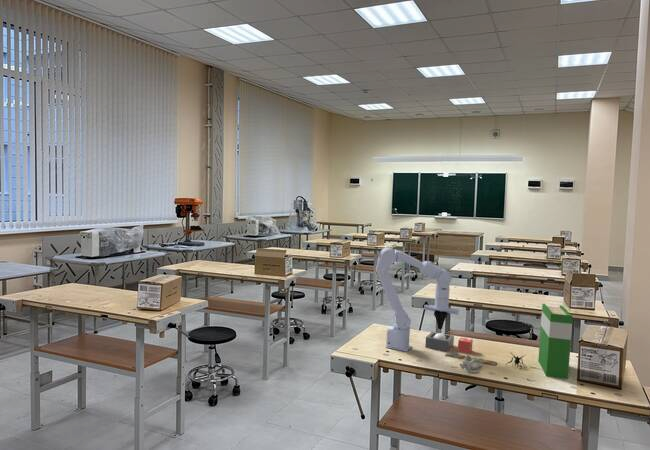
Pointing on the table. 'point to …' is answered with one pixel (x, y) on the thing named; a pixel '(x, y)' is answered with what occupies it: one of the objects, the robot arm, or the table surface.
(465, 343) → the die
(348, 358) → the table surface
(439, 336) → the dome
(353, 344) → the table surface
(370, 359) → the table surface
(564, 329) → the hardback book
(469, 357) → the track
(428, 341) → the dome base
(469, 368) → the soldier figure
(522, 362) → the creature
